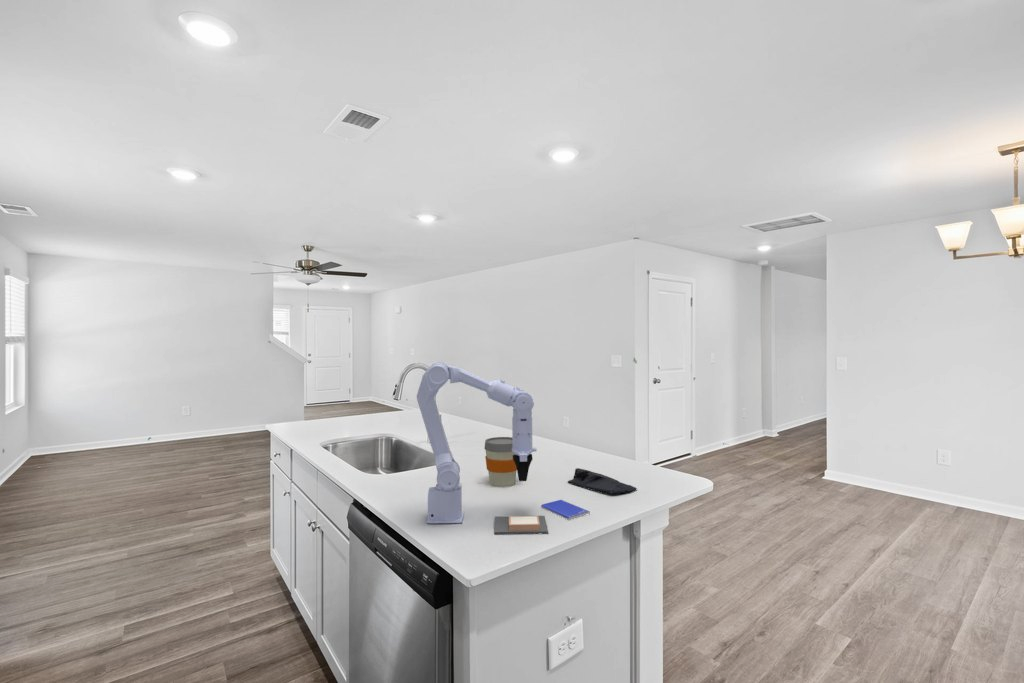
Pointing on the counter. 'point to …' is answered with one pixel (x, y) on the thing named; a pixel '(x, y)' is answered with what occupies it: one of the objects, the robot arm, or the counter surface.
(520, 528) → the tile
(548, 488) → the counter surface
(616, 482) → the dark slate chunk
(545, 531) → the mat
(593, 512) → the counter surface
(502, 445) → the reusable coffee cup
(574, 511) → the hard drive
